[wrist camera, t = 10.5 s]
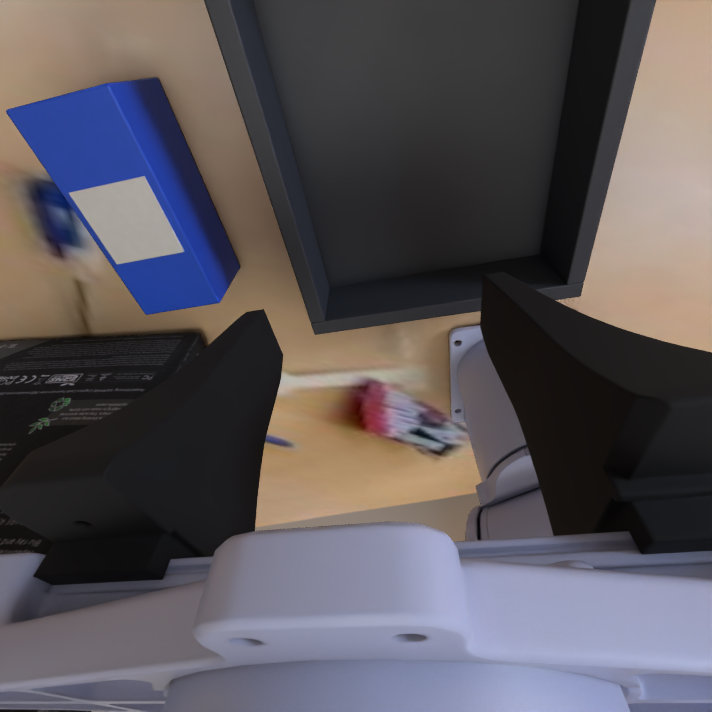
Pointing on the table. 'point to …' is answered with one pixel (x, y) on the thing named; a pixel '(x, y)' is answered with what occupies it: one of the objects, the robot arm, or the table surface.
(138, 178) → the blue box
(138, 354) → the graphics card box
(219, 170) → the table surface
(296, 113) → the desk bin
